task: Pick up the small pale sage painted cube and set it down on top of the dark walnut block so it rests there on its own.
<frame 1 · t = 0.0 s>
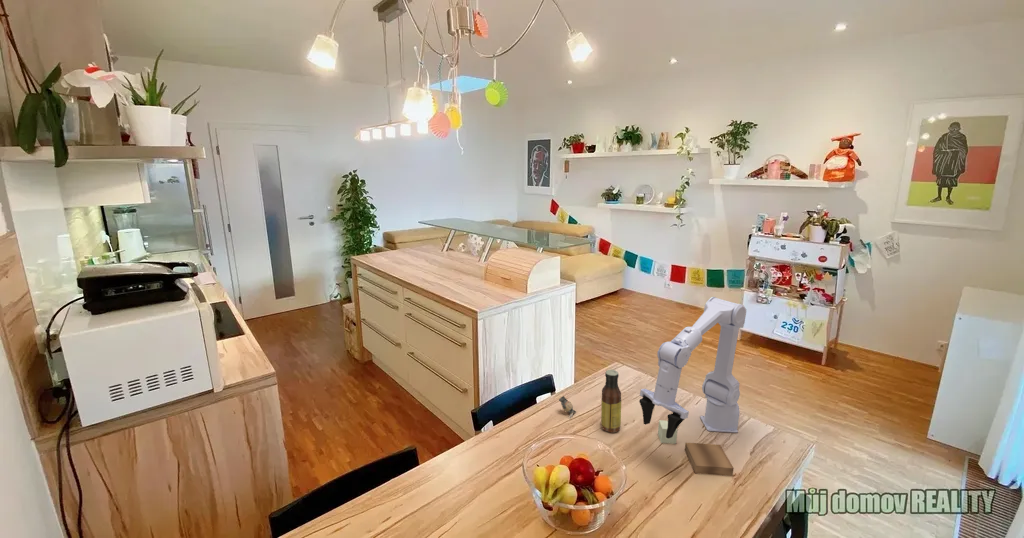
hand: (657, 430, 121), 11 cm above the table, tool pointing down, fingers open, 7 cm apart
sage cube: (666, 438, 134), on the table
walnut block: (707, 463, 124), on the table
bird figurine: (566, 413, 148), on the table
sauce bottle: (609, 428, 140), on the table
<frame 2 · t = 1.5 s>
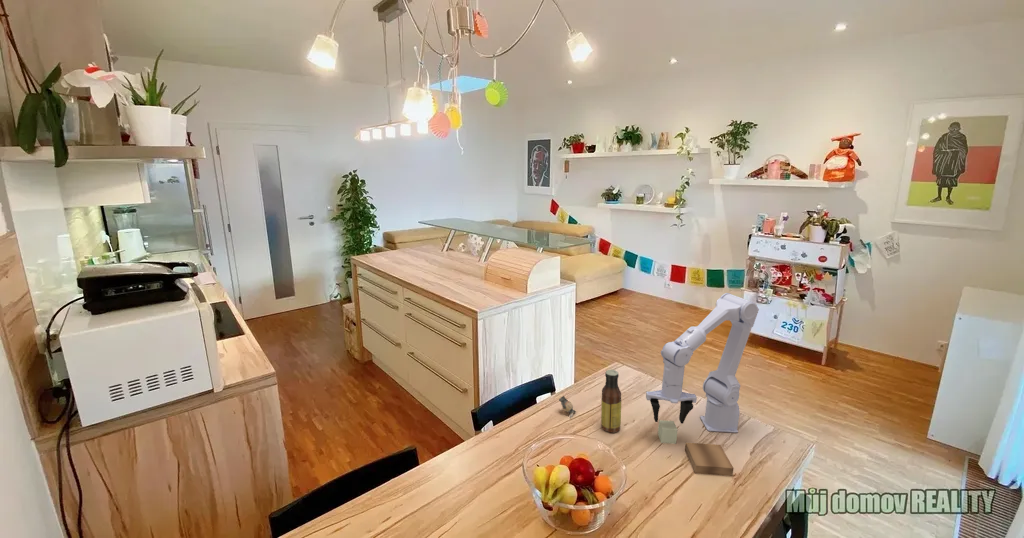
hand: (668, 420, 133), 6 cm above the table, tool pointing down, fingers open, 7 cm apart
nothing on the table moved.
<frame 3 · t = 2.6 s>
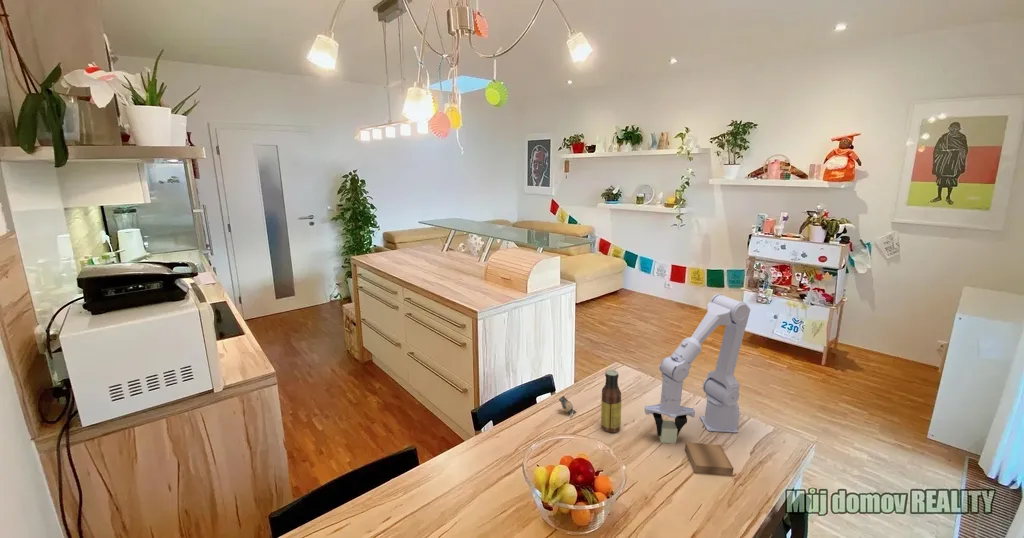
hand: (667, 434, 134), 1 cm above the table, tool pointing down, fingers closed on sage cube, 4 cm apart
sage cube: (666, 438, 134), on the table, touching gripper
everything else where it was.
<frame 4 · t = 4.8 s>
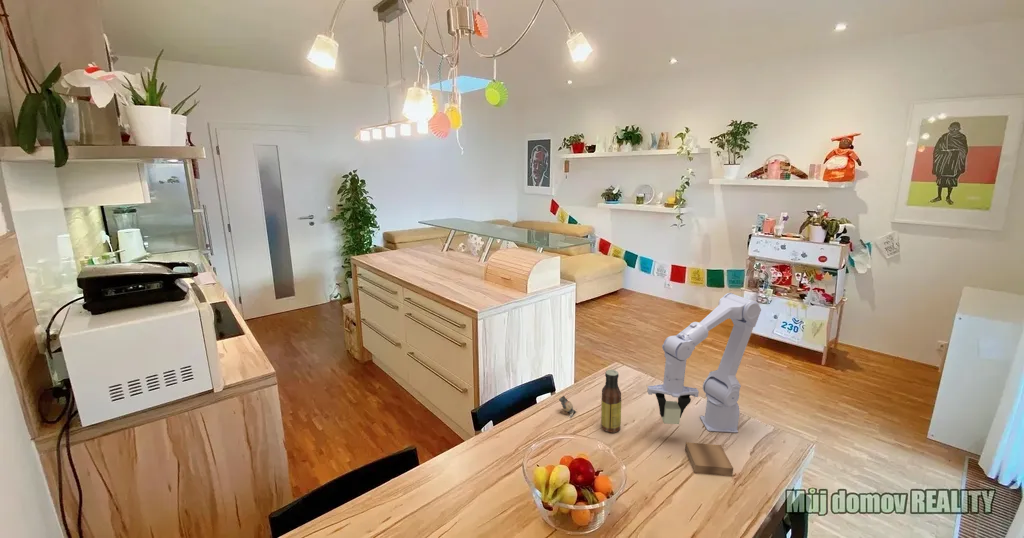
hand: (670, 415, 132), 8 cm above the table, tool pointing down, fingers closed on sage cube, 4 cm apart
sage cube: (669, 419, 132), point 7 cm above the table, touching gripper
everything else where it was.
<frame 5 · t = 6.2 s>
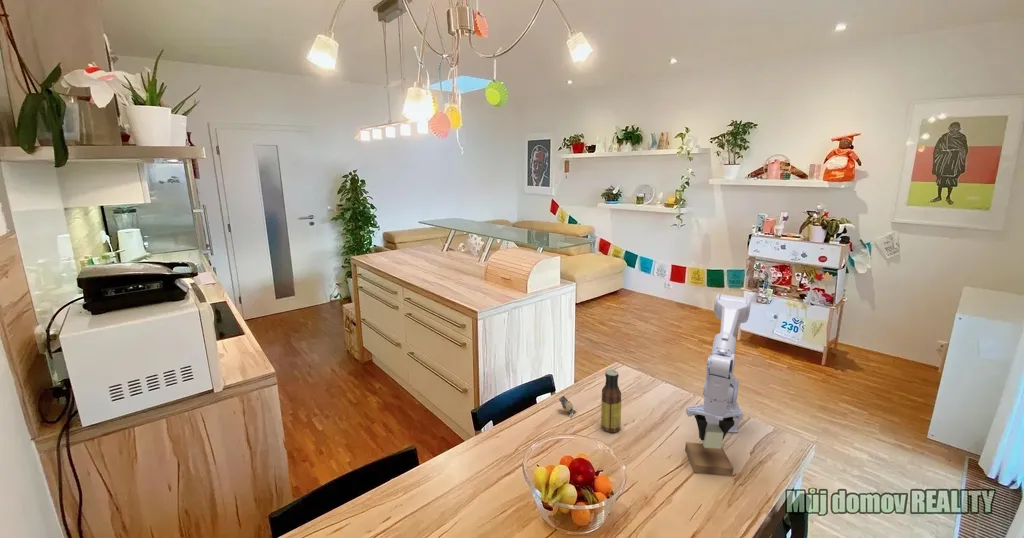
hand: (710, 438, 122), 8 cm above the table, tool pointing down, fingers closed on sage cube, 4 cm apart
sage cube: (710, 443, 122), point 6 cm above the table, touching gripper
everything else where it was.
when the fingers open (6 cm above the table, at t = 7.0 s): sage cube drops 2 cm, resting on walnut block.
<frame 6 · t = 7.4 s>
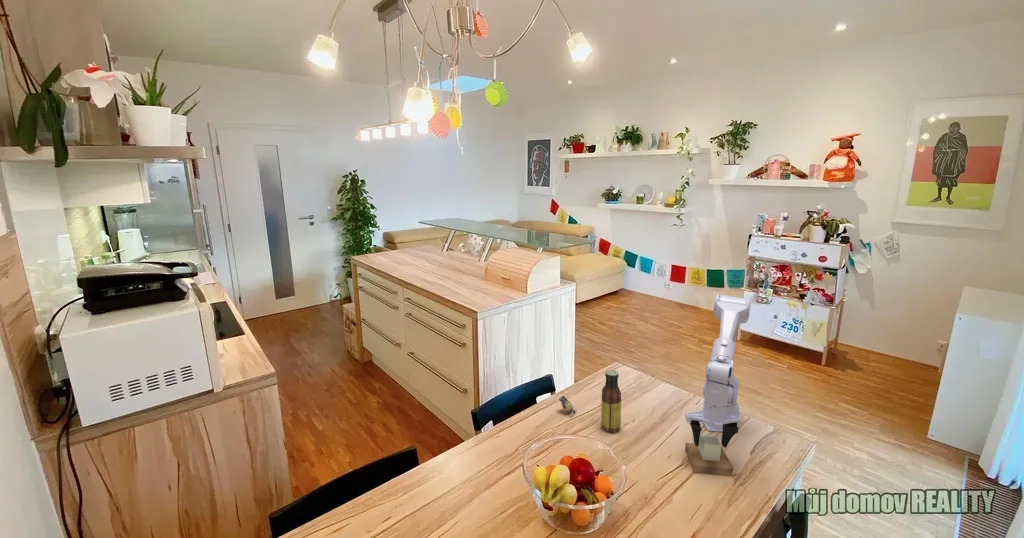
hand: (709, 444, 122), 6 cm above the table, tool pointing down, fingers open, 7 cm apart
sage cube: (708, 455, 123), point 2 cm above the table, touching walnut block
walnut block: (707, 463, 124), on the table, touching sage cube
everything else where it was.
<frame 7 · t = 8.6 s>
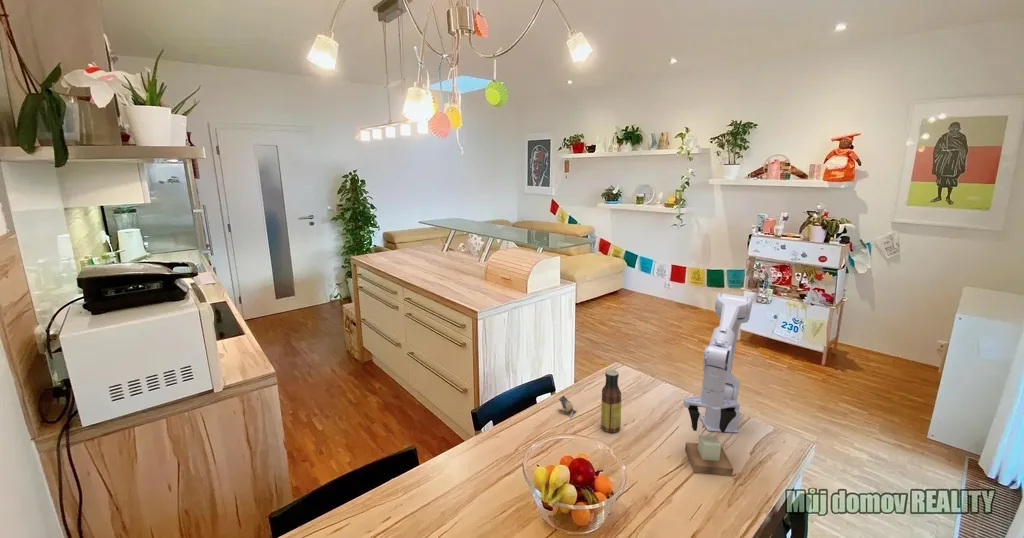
hand: (707, 429, 123), 10 cm above the table, tool pointing down, fingers open, 7 cm apart
nothing on the table moved.
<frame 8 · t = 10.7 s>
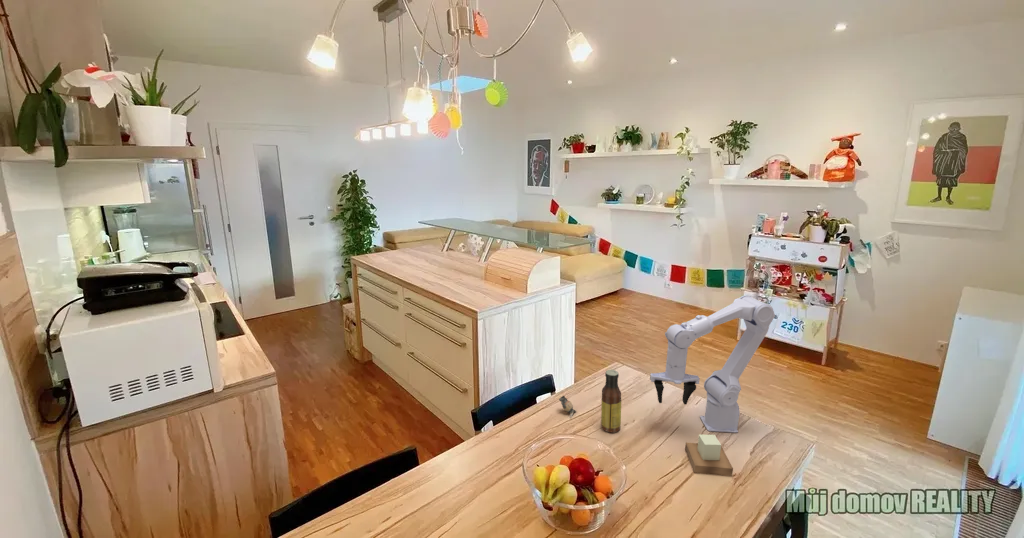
hand: (672, 402, 136), 10 cm above the table, tool pointing down, fingers open, 7 cm apart
sage cube: (708, 454, 123), point 2 cm above the table
walnut block: (707, 463, 124), on the table
everything else where it was.
at the end: sage cube 0.0 cm off-centre on the walnut block, point 3.0 cm above the walnut block's base; sage cube touching walnut block; the gripper is holding nothing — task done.
